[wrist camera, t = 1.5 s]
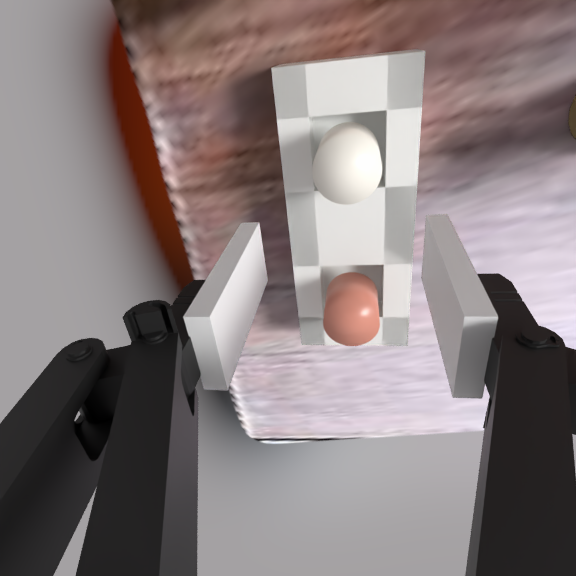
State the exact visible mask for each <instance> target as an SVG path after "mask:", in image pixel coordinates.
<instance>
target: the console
mask: <svg viewBox="0 0 576 576" xmlns="http://www.w3.org/2000/svg"><path fill="white" fill-rule="evenodd" d="M424 64H425V51H424V50H420V49H413V50H404V51H395V52H386V53H377V54H368V55H359V56H350V57H341V58H332V59H323V60H314V61H305V62H296V63H287V64H280V65H277V66H275V67H272V68H271V71H272V80H273V89H274V98H275V107H276V117H277V126H278V135H279V144H280V153H281V162H282V171H283V180H284V189H285V198H286V208H287V217H288V226H289V235H290V244H291V253H292V262H293V271H294V280H295V290H296V299H297V308H298V317H299V326H300V335H301V344H302V345H342V344H339V343H337V342H335V341H334V340H332V339H331V338H330V337H329V336H328V335H327V333H326V332H325V330H324V326H323V319H324V310H325V302H326V294H327V288H328V285H329V284H330V282H331V281H332V280H333V279H334V278H335V277H337V276H338V275H340V274H343V273H348V272H356V273H360V274H363V275H365V276H367V277H369V278H370V279H371V280H372V281H373V282H374V284H375V285H376V288H377V293H378V306H379V319H380V328H379V331H378V333H377V335H376V336H375V337H374V338H373V339H372V340H371V341H369V342H367V343H365V344H362V345H361V346H407V345H408V328H409V312H410V295H411V279H412V262H413V246H414V229H415V213H416V196H417V180H418V163H419V147H420V130H421V114H422V97H423V81H424ZM344 122H355V123H359V124H362V125H364V126H365V127H367V128H368V129H369V130H370V131H371V132H372V133H373V134H374V136H375V137H376V139H377V142H378V146H379V151H380V156H381V162H382V176H381V180H380V182H379V184H378V186H377V188H376V189H375V191H374V192H373V193H372V194H371V195H370V196H369V197H368V198H366V199H365V200H363V201H361V202H358V203H355V204H349V205H343V204H337V203H334V202H332V201H330V200H328V199H326V198H325V197H324V196H323V195H322V194H321V193H320V192H319V191H318V189H317V188H316V186H315V183H314V180H313V176H312V167H313V162H314V158H315V156H316V153H317V150H318V147H319V144H320V142H321V139H322V138H323V136H324V135H325V133H326V132H327V131H328V130H330V129H331V128H332V127H334V126H335V125H338V124H340V123H344Z"/></svg>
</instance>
